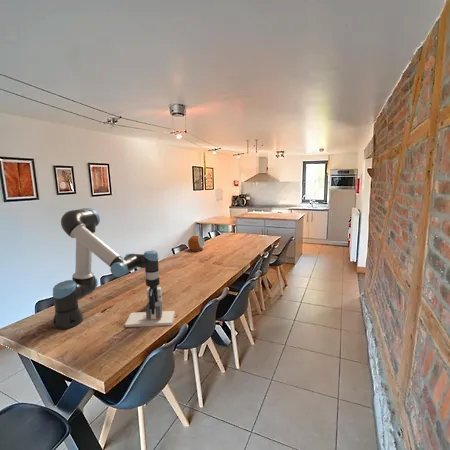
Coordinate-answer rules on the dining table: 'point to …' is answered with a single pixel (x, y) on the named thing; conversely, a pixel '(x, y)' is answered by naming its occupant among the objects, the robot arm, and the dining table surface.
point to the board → (140, 320)
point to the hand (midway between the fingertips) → (154, 315)
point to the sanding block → (158, 311)
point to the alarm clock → (196, 243)
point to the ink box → (158, 294)
